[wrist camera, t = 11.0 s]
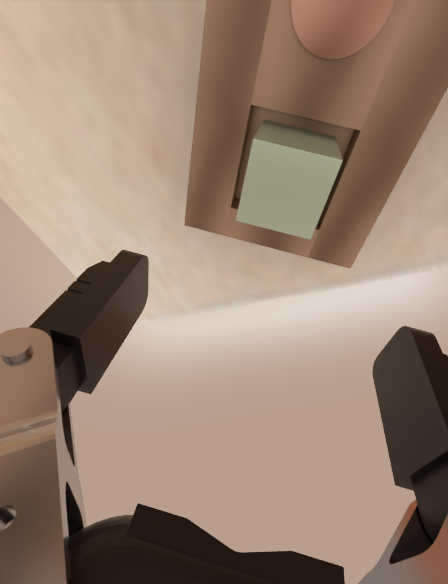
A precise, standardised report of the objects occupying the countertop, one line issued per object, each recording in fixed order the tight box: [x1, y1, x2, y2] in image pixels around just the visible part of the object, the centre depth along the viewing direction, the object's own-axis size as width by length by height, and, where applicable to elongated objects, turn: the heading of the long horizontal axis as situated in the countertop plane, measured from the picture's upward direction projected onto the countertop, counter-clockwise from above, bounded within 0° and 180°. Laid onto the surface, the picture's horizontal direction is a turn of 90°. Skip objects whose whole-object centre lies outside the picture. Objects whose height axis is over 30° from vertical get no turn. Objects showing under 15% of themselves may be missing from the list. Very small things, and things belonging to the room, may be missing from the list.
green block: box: [236, 120, 343, 240], centre depth 21 cm, size 5×5×6 cm
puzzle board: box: [185, 0, 448, 268], centre depth 20 cm, size 14×20×4 cm
